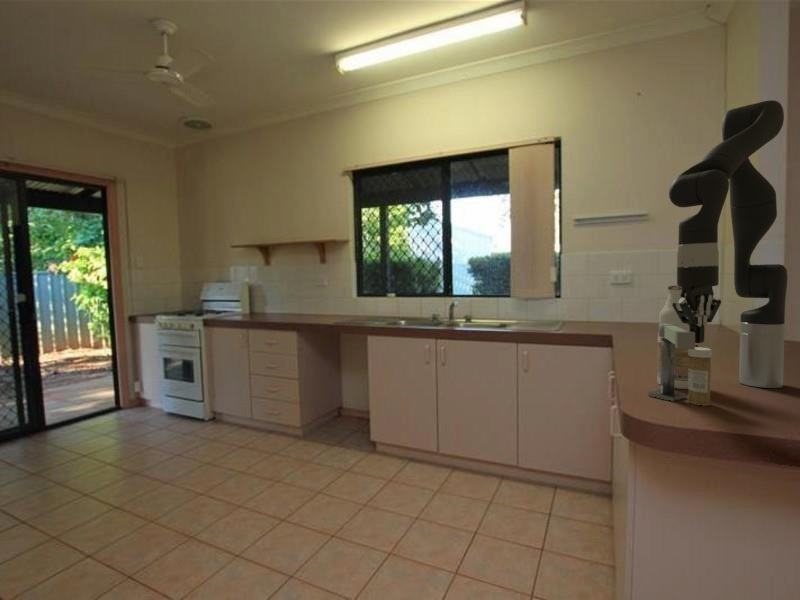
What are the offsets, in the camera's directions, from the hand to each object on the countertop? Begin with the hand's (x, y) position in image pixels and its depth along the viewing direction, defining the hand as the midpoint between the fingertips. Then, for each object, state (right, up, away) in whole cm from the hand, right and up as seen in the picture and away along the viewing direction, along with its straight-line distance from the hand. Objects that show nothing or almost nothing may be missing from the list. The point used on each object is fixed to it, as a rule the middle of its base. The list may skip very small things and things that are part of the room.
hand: (696, 342), depth 93 cm
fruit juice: (+11, -15, +24) cm, 30 cm away
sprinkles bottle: (+6, -16, +7) cm, 18 cm away
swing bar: (-1, 0, +5) cm, 5 cm away
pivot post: (+2, -15, +13) cm, 20 cm away
